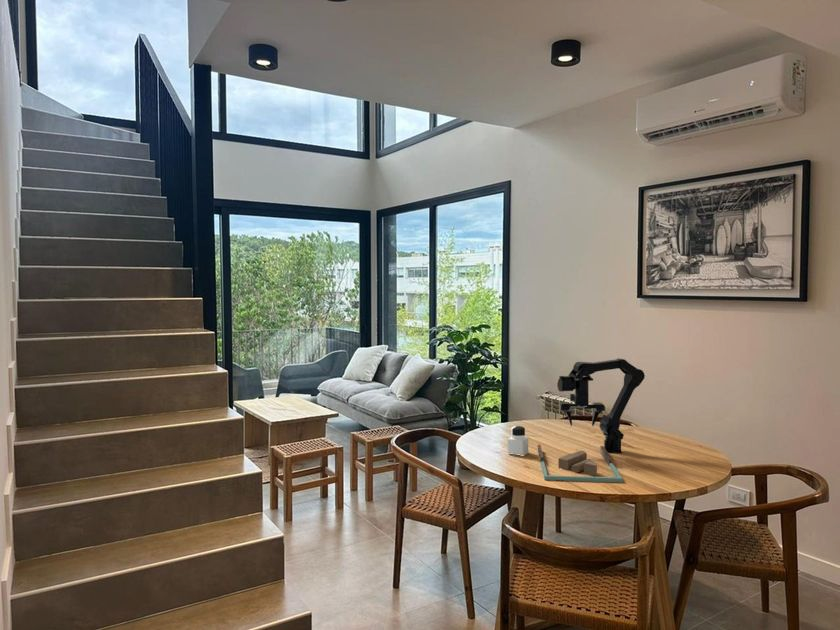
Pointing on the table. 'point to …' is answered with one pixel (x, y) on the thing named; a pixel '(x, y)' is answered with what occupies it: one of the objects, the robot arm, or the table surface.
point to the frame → (584, 478)
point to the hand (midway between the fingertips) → (581, 425)
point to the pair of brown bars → (602, 450)
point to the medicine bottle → (518, 441)
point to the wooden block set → (578, 463)
